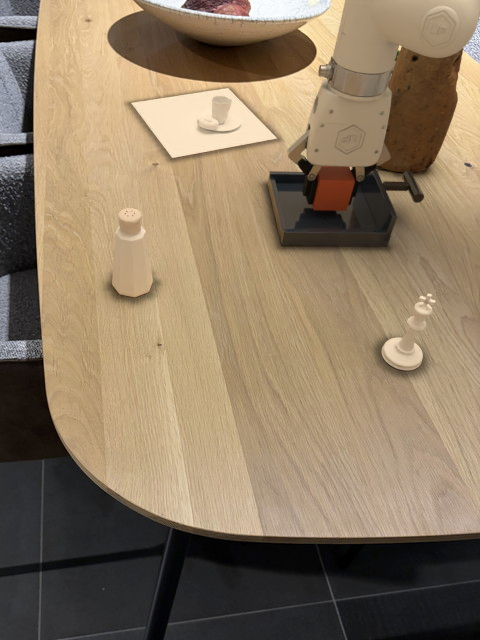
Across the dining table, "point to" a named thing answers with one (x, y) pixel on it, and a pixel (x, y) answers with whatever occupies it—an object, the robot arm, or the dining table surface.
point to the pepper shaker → (131, 256)
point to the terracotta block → (333, 188)
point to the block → (420, 109)
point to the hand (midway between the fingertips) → (327, 198)
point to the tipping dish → (337, 212)
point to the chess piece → (409, 339)
